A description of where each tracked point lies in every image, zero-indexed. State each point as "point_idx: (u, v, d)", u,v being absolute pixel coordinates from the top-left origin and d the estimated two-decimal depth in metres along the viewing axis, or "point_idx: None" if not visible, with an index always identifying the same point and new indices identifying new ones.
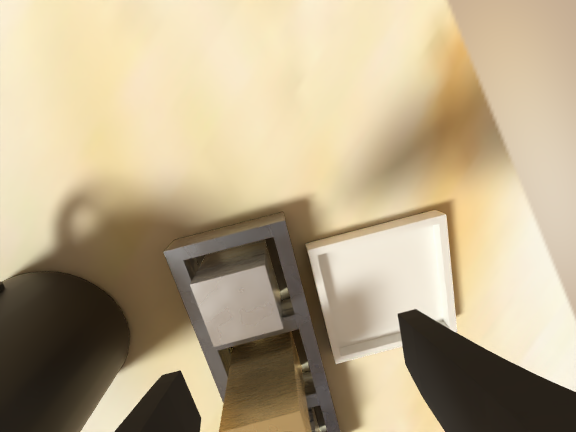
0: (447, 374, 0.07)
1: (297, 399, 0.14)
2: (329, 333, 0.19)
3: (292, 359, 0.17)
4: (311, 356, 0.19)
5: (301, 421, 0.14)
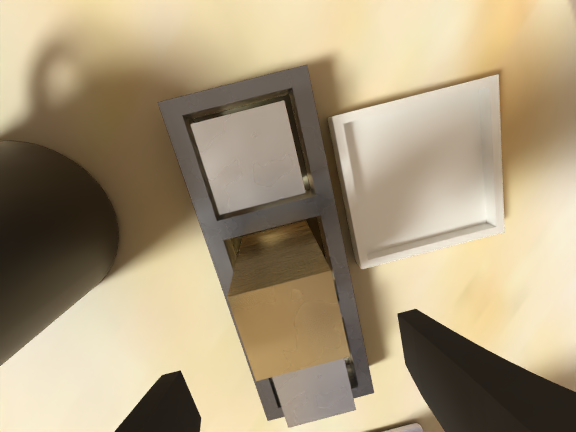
0: (447, 374, 0.07)
1: (326, 264, 0.11)
2: (355, 229, 0.16)
3: (314, 241, 0.14)
4: (335, 252, 0.16)
5: (332, 286, 0.11)
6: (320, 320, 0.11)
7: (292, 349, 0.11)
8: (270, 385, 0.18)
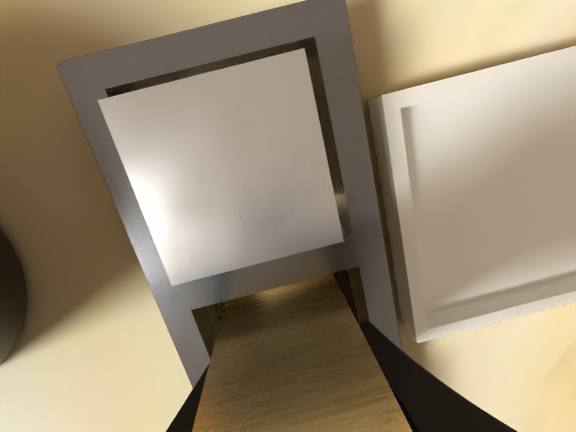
0: None
1: (404, 422, 0.05)
2: (410, 282, 0.10)
3: (355, 324, 0.07)
4: (380, 326, 0.09)
5: None
6: None
7: None
8: None
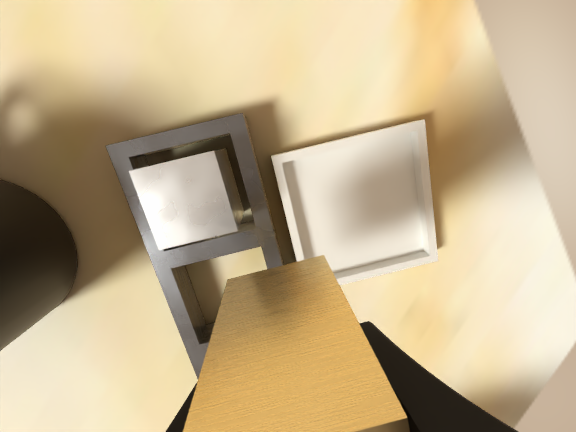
0: None
1: (387, 385, 0.05)
2: (297, 257, 0.18)
3: (347, 305, 0.08)
4: None
5: None
6: None
7: None
8: None
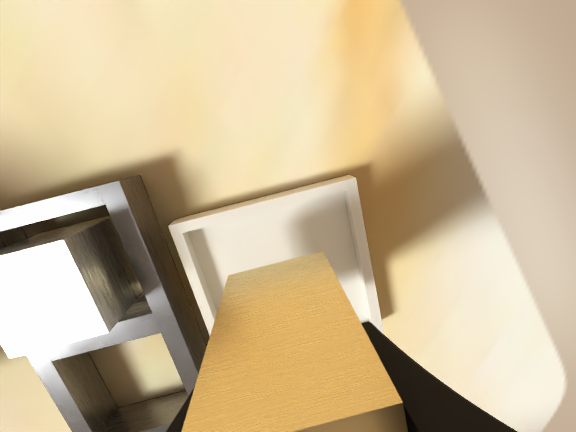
0: None
1: (384, 372, 0.05)
2: None
3: (345, 298, 0.08)
4: (184, 369, 0.14)
5: (404, 431, 0.05)
6: None
7: None
8: None
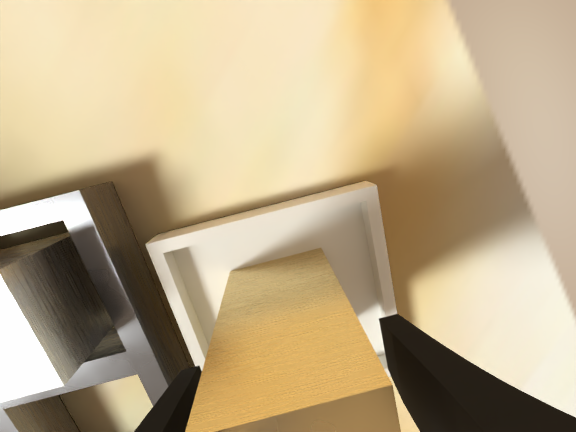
0: (422, 380, 0.07)
1: (376, 359, 0.06)
2: None
3: (342, 292, 0.08)
4: None
5: (393, 411, 0.05)
6: None
7: None
8: None
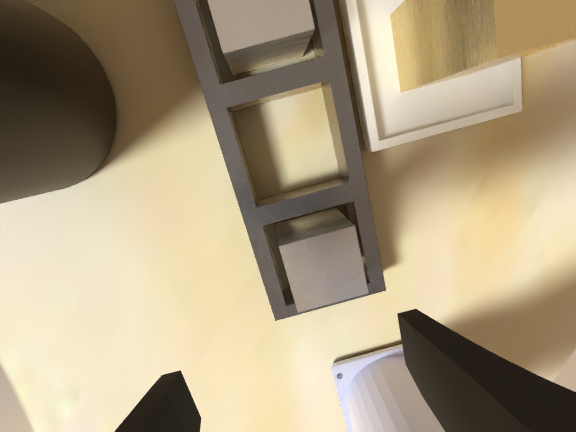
0: (447, 374, 0.07)
1: None
2: (365, 104, 0.15)
3: None
4: (344, 125, 0.15)
5: None
6: None
7: (548, 9, 0.09)
8: (277, 280, 0.17)
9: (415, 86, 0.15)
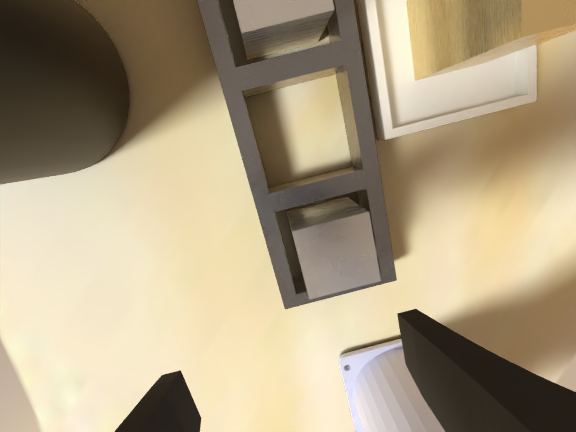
0: (447, 374, 0.07)
1: None
2: (380, 91, 0.15)
3: None
4: (359, 111, 0.15)
5: None
6: None
7: None
8: (288, 268, 0.17)
9: (431, 73, 0.14)
